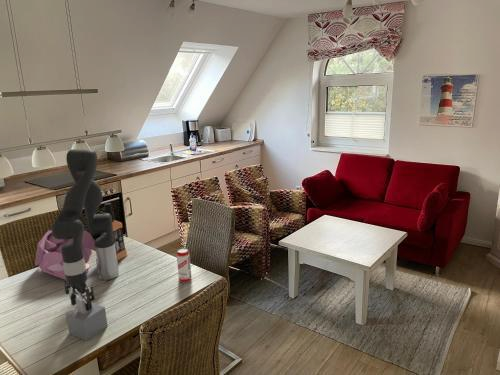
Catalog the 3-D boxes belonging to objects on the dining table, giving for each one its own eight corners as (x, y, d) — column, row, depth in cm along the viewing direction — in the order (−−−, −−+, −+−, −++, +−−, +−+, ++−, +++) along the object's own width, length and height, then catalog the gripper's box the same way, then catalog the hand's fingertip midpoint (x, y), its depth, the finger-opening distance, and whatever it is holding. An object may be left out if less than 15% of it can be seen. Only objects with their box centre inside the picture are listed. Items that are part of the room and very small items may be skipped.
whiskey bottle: (128, 255, 217) (121, 201, 208) (115, 262, 209) (108, 207, 200) (114, 252, 221) (106, 199, 213) (101, 259, 213) (93, 205, 204)
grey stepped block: (69, 333, 151) (63, 300, 147) (90, 319, 159) (85, 287, 155) (86, 341, 146) (80, 307, 142) (107, 326, 155) (102, 294, 150)
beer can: (189, 283, 185) (186, 253, 180) (176, 282, 186) (174, 252, 182) (193, 277, 191) (191, 248, 186) (181, 276, 192) (179, 247, 188)
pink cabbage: (107, 272, 208) (110, 222, 206) (82, 287, 185) (86, 230, 182) (48, 263, 213) (51, 214, 210) (17, 277, 190) (19, 221, 187)
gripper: (54, 270, 144) (61, 307, 149) (79, 278, 137) (85, 317, 142) (71, 261, 151) (78, 297, 155) (96, 269, 144) (102, 307, 148)
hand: (81, 307), depth 149 cm, fingers open, 8 cm apart
